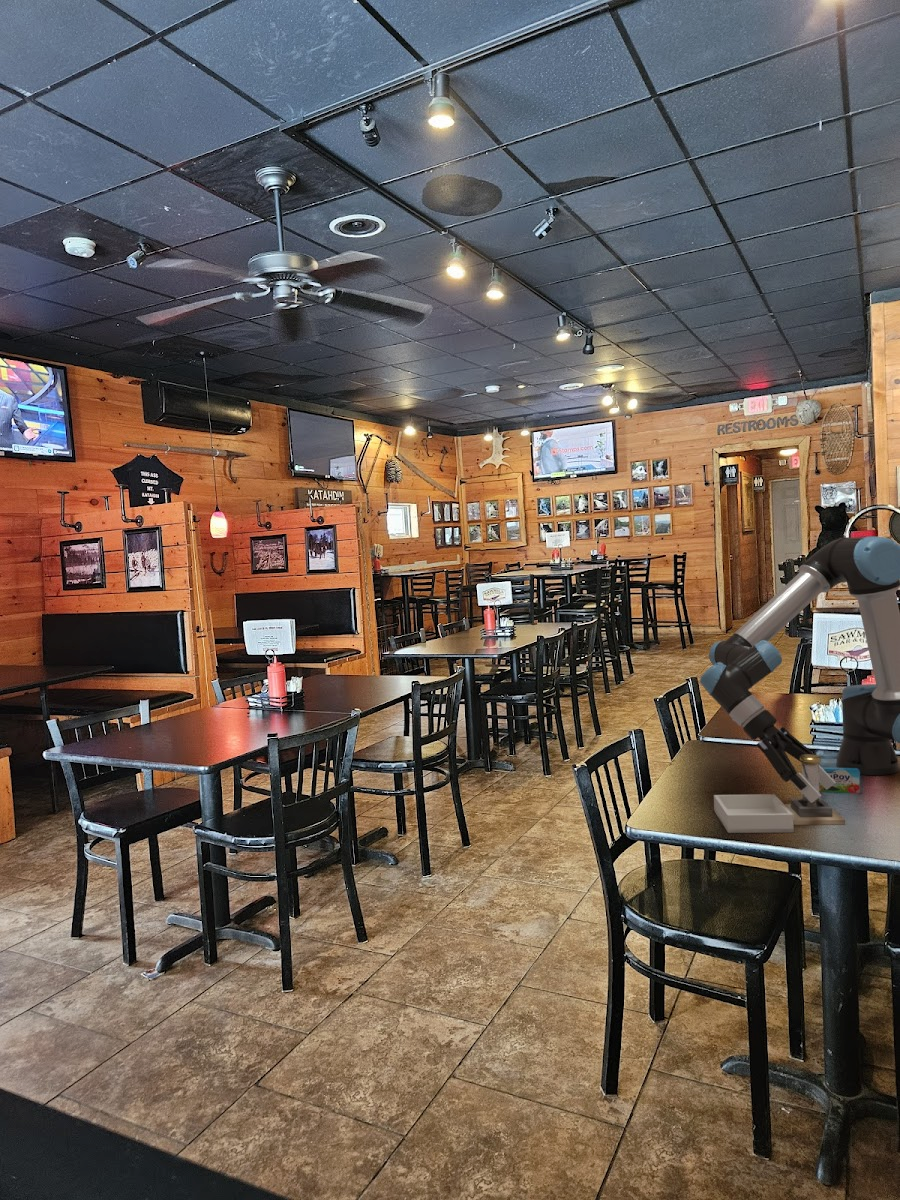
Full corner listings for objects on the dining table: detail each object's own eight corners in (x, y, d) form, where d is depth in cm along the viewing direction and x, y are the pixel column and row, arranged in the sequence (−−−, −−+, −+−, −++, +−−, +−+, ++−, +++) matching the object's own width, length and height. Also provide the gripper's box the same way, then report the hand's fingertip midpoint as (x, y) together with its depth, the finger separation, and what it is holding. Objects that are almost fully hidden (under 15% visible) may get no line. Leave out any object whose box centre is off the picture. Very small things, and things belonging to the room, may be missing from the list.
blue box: (859, 792, 195) (858, 768, 194) (860, 794, 194) (859, 770, 193) (807, 790, 198) (806, 766, 198) (807, 792, 197) (807, 768, 197)
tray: (774, 810, 185) (774, 794, 185) (793, 832, 171) (793, 814, 171) (714, 811, 187) (713, 795, 187) (728, 832, 173) (727, 815, 173)
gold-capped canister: (817, 808, 182) (816, 754, 181) (824, 815, 178) (823, 759, 177) (798, 808, 183) (797, 754, 182) (804, 815, 178) (803, 759, 178)
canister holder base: (827, 807, 185) (827, 795, 185) (845, 824, 174) (844, 811, 174) (779, 808, 187) (779, 796, 186) (794, 824, 176) (793, 811, 175)
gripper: (760, 718, 198) (827, 788, 189) (724, 738, 181) (795, 816, 172) (781, 699, 194) (850, 770, 185) (746, 718, 177) (820, 797, 168)
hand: (824, 792), depth 178 cm, fingers open, 10 cm apart
